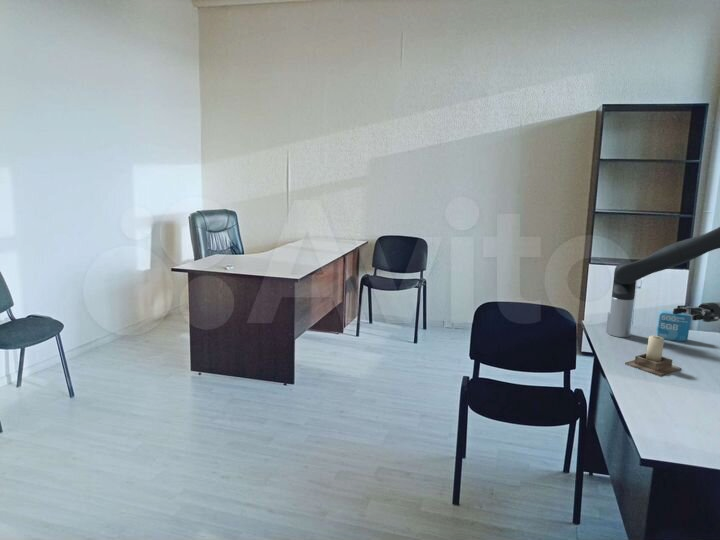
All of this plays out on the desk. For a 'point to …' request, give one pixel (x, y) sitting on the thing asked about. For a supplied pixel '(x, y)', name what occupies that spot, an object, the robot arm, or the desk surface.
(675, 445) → the desk surface
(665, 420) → the desk surface
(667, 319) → the data package
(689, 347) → the desk surface
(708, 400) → the desk surface
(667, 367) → the roll stand
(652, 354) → the paper roll
